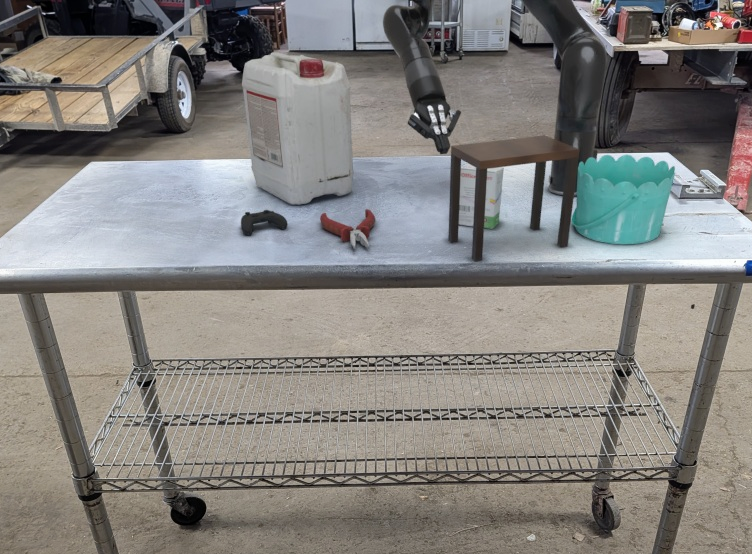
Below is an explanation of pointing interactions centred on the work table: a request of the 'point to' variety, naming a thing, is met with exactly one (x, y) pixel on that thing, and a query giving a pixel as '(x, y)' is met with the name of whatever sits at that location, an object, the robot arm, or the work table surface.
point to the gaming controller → (261, 220)
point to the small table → (511, 155)
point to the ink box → (469, 195)
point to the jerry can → (299, 126)
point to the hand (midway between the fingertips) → (445, 152)
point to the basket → (622, 199)
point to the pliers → (350, 229)
